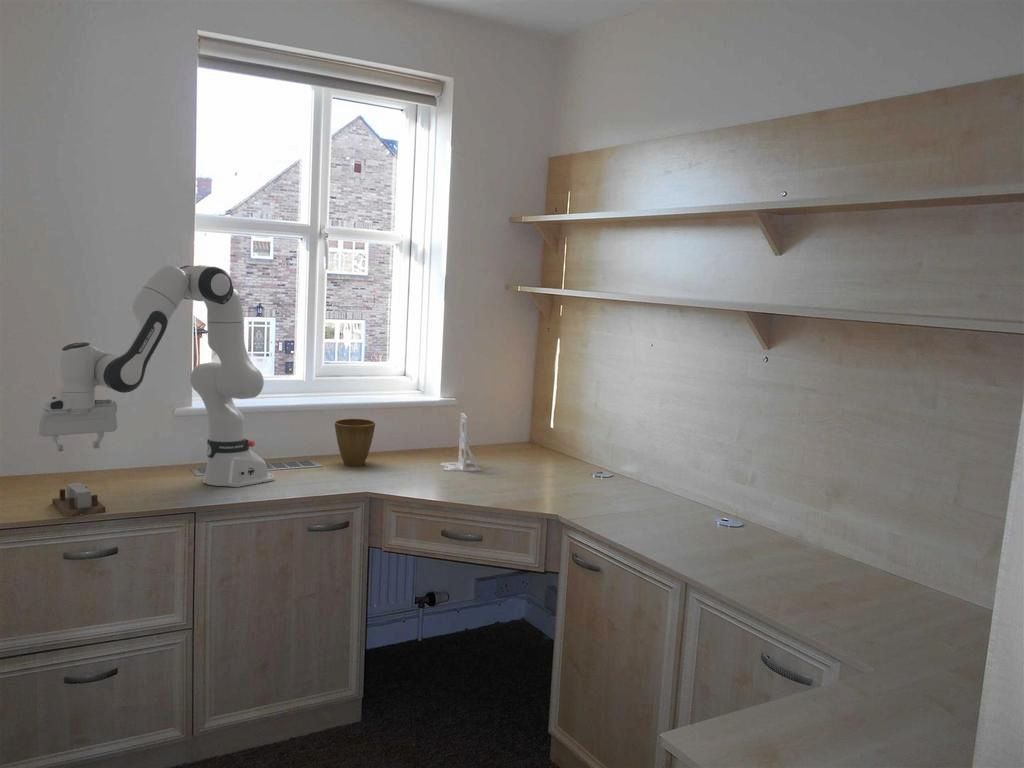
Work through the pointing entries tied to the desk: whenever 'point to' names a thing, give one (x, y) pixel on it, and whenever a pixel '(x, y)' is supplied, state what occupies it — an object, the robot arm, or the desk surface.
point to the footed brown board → (69, 505)
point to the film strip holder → (462, 444)
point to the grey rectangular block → (79, 495)
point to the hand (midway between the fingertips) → (78, 449)
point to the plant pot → (354, 439)
